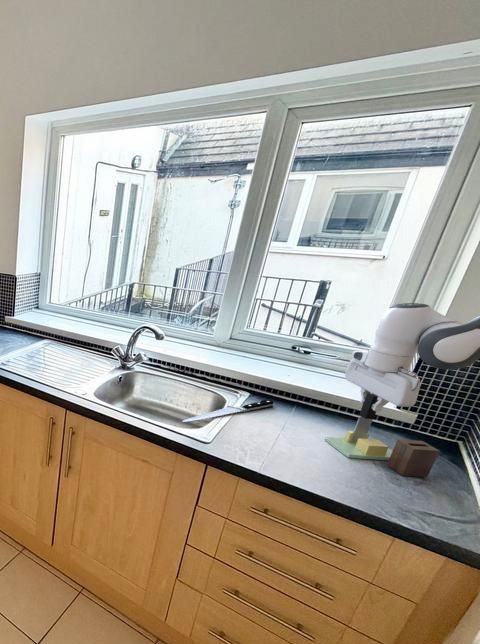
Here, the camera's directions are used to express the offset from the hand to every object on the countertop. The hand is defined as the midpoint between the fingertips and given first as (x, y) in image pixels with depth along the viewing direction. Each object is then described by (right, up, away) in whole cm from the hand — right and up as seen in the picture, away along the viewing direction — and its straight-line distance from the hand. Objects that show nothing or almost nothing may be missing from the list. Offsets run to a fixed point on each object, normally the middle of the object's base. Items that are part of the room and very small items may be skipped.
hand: (369, 407), depth 119 cm
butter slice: (0, -11, +5) cm, 12 cm away
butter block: (-1, -13, -1) cm, 13 cm away
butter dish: (0, -13, +2) cm, 13 cm away
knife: (0, -10, +4) cm, 11 cm away
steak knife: (-27, -5, +23) cm, 36 cm away
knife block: (+2, -16, -8) cm, 18 cm away
